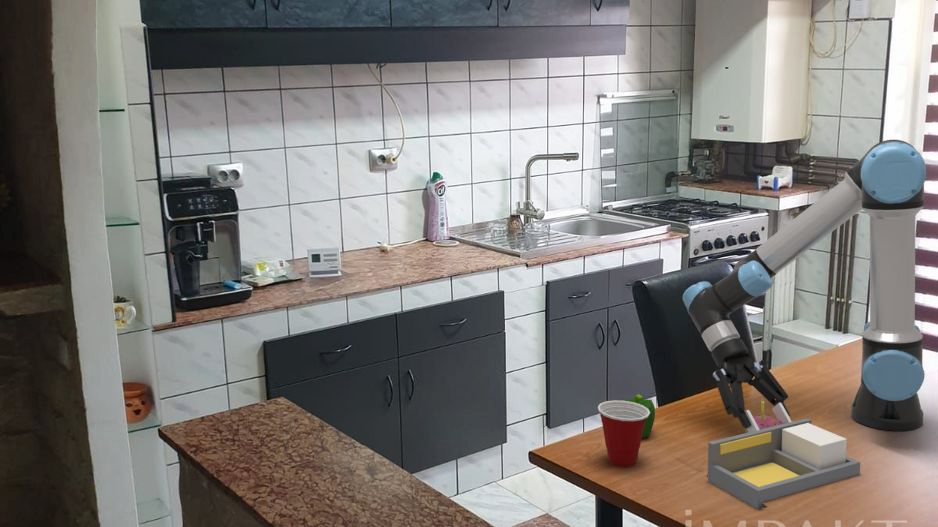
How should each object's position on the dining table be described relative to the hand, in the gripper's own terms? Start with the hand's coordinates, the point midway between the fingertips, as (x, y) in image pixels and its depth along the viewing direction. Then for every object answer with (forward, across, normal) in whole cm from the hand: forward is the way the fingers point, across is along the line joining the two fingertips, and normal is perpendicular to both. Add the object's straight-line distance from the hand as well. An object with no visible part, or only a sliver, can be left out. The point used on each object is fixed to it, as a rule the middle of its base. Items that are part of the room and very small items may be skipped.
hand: (775, 436), depth 188 cm
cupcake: (+1, 0, -5) cm, 5 cm away
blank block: (+9, 0, +6) cm, 11 cm away
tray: (+10, +8, +5) cm, 14 cm away
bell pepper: (-14, +19, -19) cm, 30 cm away
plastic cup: (-6, +30, -12) cm, 33 cm away
